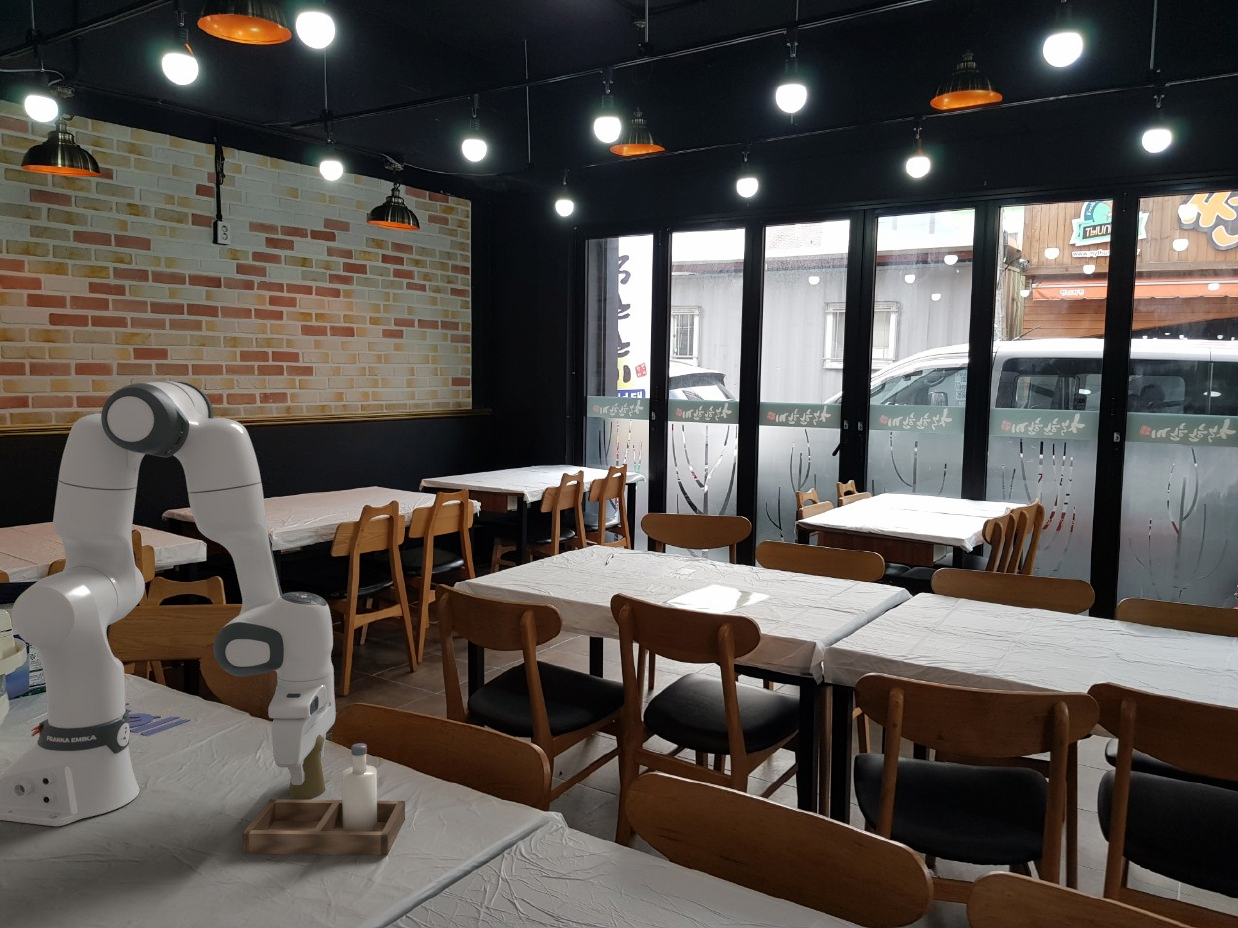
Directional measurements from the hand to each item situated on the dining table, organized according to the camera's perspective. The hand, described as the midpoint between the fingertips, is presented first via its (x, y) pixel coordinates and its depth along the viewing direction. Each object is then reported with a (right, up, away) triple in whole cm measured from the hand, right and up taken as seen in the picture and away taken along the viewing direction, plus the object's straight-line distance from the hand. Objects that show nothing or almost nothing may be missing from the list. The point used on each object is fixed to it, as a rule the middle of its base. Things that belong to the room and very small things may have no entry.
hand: (308, 771), depth 154 cm
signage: (-50, -1, +36) cm, 62 cm away
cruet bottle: (+13, -5, -15) cm, 20 cm away
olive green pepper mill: (0, -5, 0) cm, 5 cm away
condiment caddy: (+8, -6, -14) cm, 17 cm away
